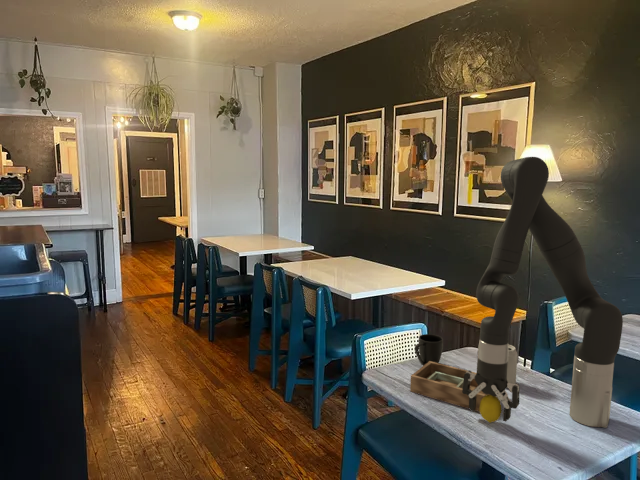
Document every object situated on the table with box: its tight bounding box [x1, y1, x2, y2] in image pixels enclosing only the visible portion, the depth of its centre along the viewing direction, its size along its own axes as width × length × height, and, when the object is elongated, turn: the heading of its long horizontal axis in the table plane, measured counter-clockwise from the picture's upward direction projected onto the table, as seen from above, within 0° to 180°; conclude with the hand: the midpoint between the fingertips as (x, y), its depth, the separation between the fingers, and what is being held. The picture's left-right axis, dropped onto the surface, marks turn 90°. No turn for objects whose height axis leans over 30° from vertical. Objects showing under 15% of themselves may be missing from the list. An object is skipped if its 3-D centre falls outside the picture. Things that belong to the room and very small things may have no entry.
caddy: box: [409, 361, 490, 413], centre depth 143 cm, size 22×14×5 cm, turn 54°
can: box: [507, 344, 519, 384], centre depth 150 cm, size 8×8×12 cm
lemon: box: [479, 395, 503, 424], centre depth 126 cm, size 6×6×8 cm
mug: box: [414, 333, 444, 367], centre depth 163 cm, size 8×12×10 cm
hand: (488, 415), depth 127 cm, fingers open, 8 cm apart
